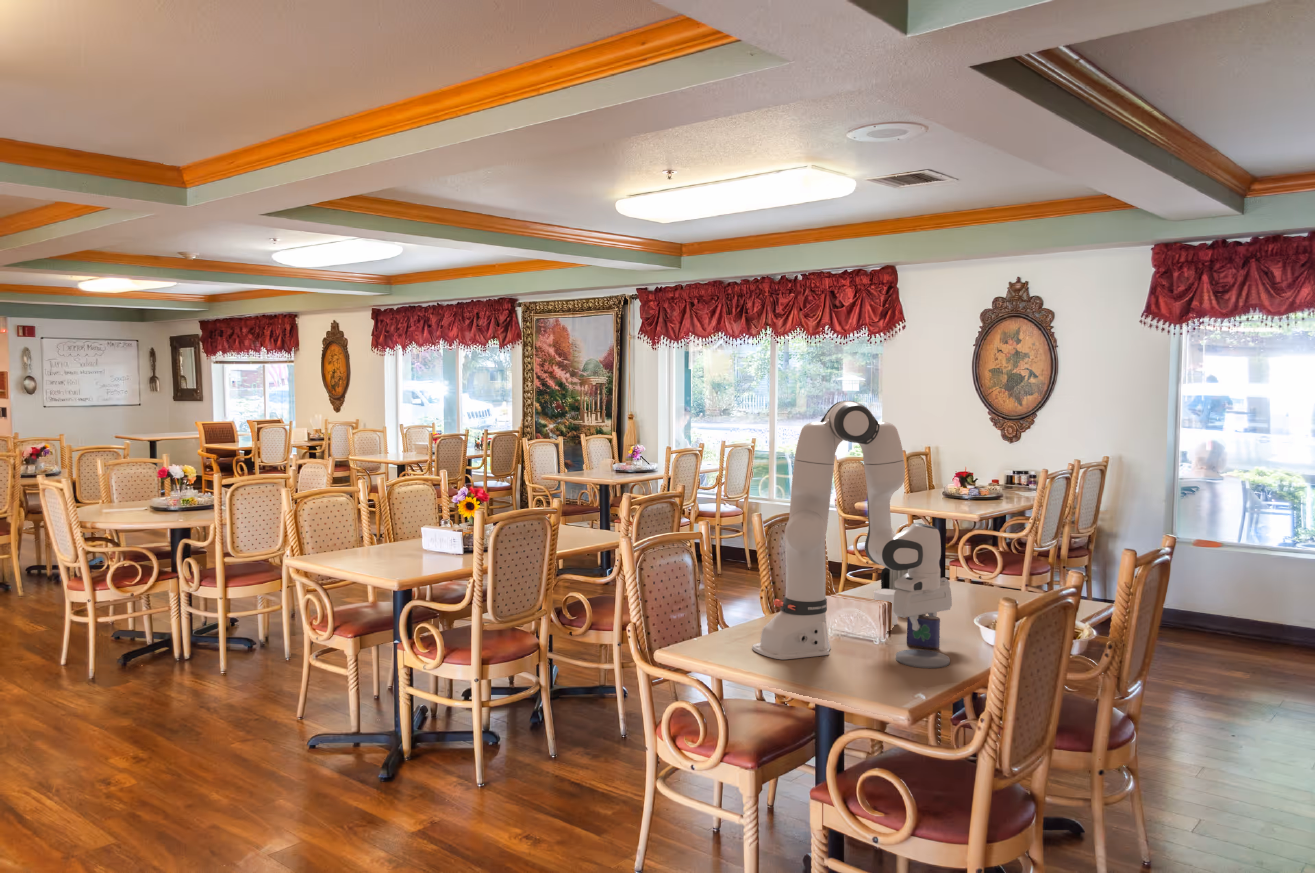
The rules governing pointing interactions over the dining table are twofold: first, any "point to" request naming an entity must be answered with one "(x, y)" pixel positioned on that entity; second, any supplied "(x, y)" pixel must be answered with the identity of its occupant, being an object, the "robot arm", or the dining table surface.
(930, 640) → the flask
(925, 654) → the plate
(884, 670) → the dining table surface
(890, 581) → the milk frother
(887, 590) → the white cup
